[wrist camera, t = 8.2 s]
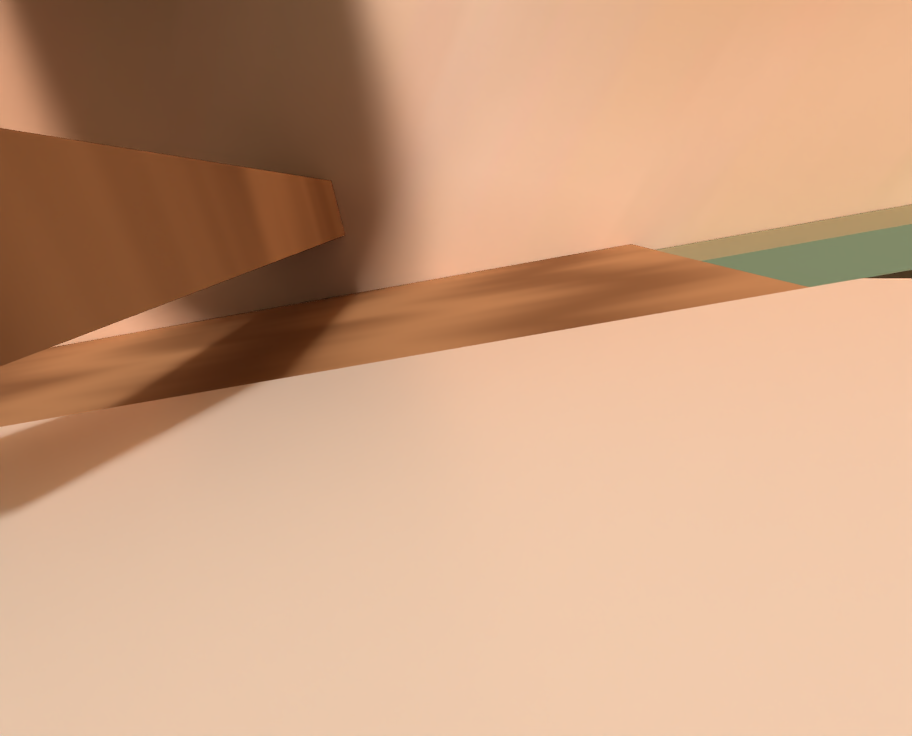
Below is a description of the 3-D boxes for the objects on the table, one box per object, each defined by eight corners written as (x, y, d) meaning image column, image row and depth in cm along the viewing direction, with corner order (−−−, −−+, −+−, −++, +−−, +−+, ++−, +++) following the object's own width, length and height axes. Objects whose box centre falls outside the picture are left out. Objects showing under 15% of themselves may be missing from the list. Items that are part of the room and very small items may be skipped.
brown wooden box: (194, 662, 19) (54, 925, 12) (10, 354, 14) (-432, 515, 7) (637, 595, 19) (754, 833, 12) (631, 244, 13) (847, 296, 6)
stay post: (247, 253, 13) (-1038, 614, 2) (229, 199, 12) (-1859, 216, 1) (345, 235, 13) (-334, 492, 2) (331, 181, 12) (-860, -10, 1)
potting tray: (648, 589, 18) (678, 644, 16) (647, 251, 13) (691, 262, 11) (919, 547, 18) (990, 599, 16) (1031, 183, 13) (1161, 179, 10)
